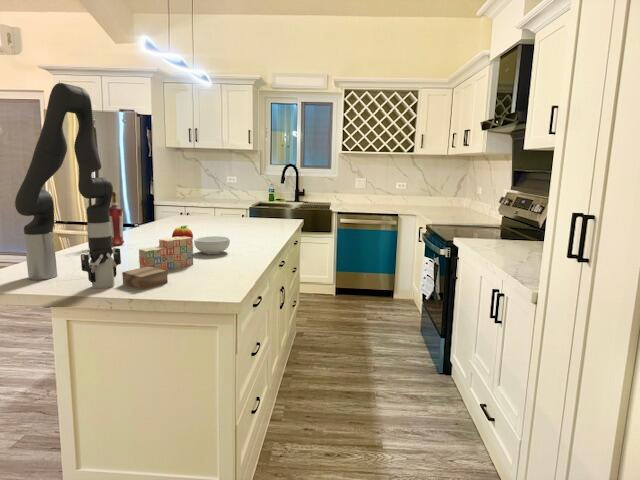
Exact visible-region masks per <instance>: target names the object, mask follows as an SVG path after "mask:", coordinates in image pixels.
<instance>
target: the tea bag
mask: <svg viewBox="0 0 640 480" xmlns="http://www.w3.org/2000/svg"><path fill="white" fill-rule="evenodd" d="M94 263H95V262H94ZM94 272H95V279H96V282H94V283H92V282H91V287H92V289H101V288H103V289H105V288H114V286H115V277H114V269H113V262H112V259H106V261H105V262H103V263H101V264H99V265H98V266H97V267H96V269H95V271H94Z"/></svg>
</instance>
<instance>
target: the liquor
mask: <svg viewBox="0 0 640 480" xmlns="http://www.w3.org/2000/svg"><path fill="white" fill-rule="evenodd" d="M117 194H118V193H117V191H113V194H112V198H111V206H110V208H109V218H110V226H111V235H112V246H115V245H117V246H122V245H123V244H124V243H125V241H124V227H123V226H124V215H123V208H122V207H120V206H118V205H119V204H118V200H117V199H118V198H117V196H118V195H117Z"/></svg>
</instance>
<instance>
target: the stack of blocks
mask: <svg viewBox="0 0 640 480" xmlns="http://www.w3.org/2000/svg"><path fill="white" fill-rule="evenodd" d="M158 241H159V242H158V243H159V244H158V245H159V246H151V247H144V248H143V247H142V248H139V249H138V259H139V261H138V263H139V268H144V267H148V266H149V267H153V268H158V269H162V270H166V271H168V270H172V269H177V268H183V267H188V266H194V245H193V243H194V242H193V239H192V238H191V237H186V236H182V237H172V236H171V237H167V238H160V239H158Z"/></svg>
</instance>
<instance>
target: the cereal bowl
mask: <svg viewBox="0 0 640 480" xmlns="http://www.w3.org/2000/svg"><path fill="white" fill-rule="evenodd" d="M193 240H194V242H193V243H194V246H195V248H196V249H197V250H198V251H200V252H202V253H203V254H205V255H217V254H221V253H222V252H224V251H226V250H227V249H228V248H229V246H230V242H231V241H230V240H231V239H230V238H229V237H227V236H216V235H215V236H202V237H198V238H194V239H193Z"/></svg>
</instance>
